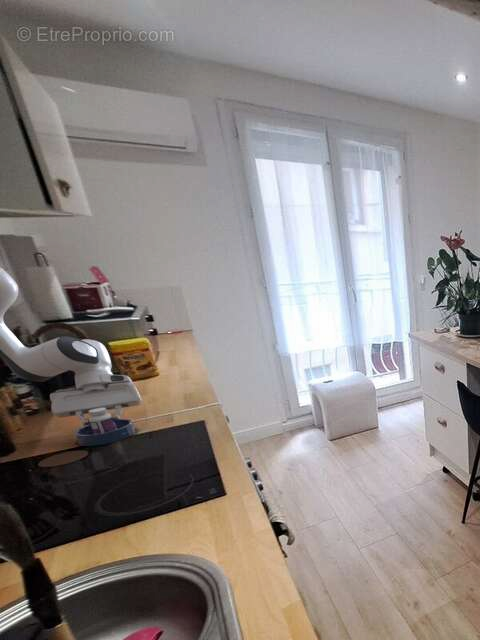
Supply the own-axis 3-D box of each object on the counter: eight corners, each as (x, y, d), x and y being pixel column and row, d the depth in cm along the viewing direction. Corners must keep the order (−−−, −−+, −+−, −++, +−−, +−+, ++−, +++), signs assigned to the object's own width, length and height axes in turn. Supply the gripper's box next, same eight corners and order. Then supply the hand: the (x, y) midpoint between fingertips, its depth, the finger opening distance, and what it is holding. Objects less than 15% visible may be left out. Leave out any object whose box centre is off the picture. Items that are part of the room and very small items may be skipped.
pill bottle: (120, 432, 136) (110, 405, 133) (118, 437, 133) (108, 410, 129) (97, 436, 133) (86, 409, 130) (95, 442, 129) (83, 414, 126)
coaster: (38, 472, 113) (37, 470, 112) (38, 460, 119) (37, 458, 119) (90, 459, 120) (89, 457, 119) (87, 448, 126) (87, 447, 126)
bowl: (80, 451, 124) (75, 439, 123) (78, 438, 133) (73, 427, 131) (138, 437, 134) (134, 426, 132) (133, 426, 142) (129, 415, 140)
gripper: (44, 386, 126) (49, 425, 122) (134, 375, 138) (141, 410, 134) (53, 396, 131) (58, 434, 127) (139, 384, 143) (146, 418, 139)
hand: (101, 421), depth 131 cm, fingers closed on pill bottle, 5 cm apart
